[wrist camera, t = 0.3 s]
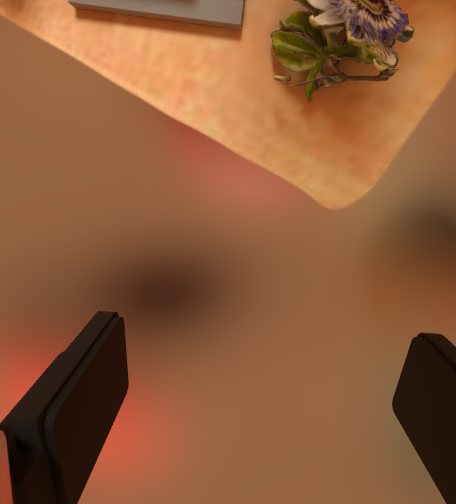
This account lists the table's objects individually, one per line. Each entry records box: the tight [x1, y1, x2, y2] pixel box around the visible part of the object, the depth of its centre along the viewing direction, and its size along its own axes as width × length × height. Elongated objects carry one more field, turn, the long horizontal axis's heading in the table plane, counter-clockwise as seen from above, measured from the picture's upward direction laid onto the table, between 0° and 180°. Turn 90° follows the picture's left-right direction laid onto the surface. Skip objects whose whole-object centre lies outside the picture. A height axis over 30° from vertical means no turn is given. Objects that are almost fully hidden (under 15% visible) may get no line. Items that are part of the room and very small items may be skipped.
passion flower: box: [271, 0, 414, 103], centre depth 29 cm, size 11×11×12 cm
